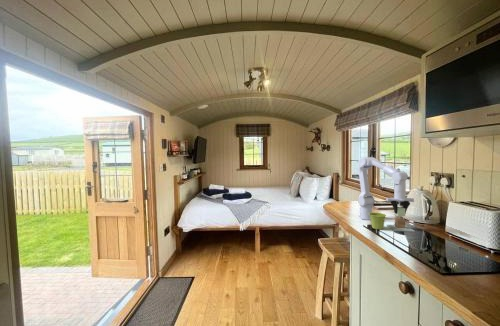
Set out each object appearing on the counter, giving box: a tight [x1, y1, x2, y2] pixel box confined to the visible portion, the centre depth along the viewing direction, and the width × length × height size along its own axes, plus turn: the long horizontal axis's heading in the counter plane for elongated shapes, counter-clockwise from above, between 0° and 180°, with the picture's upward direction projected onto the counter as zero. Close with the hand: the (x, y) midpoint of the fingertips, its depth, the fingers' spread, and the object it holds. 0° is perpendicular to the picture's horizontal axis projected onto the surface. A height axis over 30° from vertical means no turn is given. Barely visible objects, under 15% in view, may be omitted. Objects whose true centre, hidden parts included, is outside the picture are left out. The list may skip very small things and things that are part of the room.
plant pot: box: [369, 212, 387, 230], centre depth 138 cm, size 9×9×9 cm
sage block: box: [394, 206, 406, 218], centre depth 136 cm, size 4×4×5 cm
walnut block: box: [394, 217, 406, 228], centre depth 136 cm, size 4×4×5 cm
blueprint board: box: [386, 224, 416, 233], centre depth 136 cm, size 11×11×1 cm
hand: (400, 213), depth 136 cm, fingers closed on sage block, 4 cm apart
